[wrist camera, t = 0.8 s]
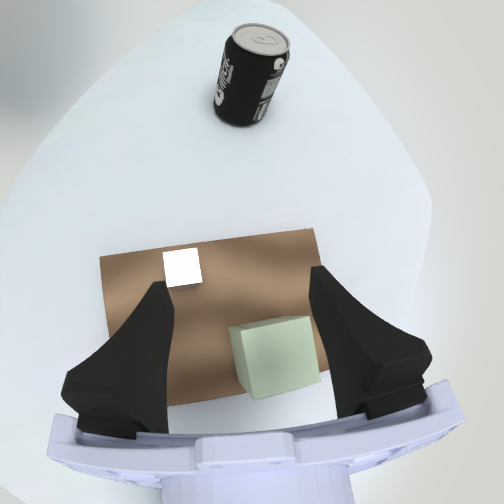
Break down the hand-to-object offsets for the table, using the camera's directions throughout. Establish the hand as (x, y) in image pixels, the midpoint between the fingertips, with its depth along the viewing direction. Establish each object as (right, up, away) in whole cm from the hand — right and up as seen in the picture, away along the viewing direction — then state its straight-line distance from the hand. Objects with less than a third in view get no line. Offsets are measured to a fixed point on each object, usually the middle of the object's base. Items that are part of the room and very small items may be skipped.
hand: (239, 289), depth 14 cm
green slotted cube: (+1, -7, +12) cm, 14 cm away
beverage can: (-1, +20, +19) cm, 28 cm away
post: (-6, 0, +12) cm, 14 cm away
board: (-2, -5, +13) cm, 14 cm away
